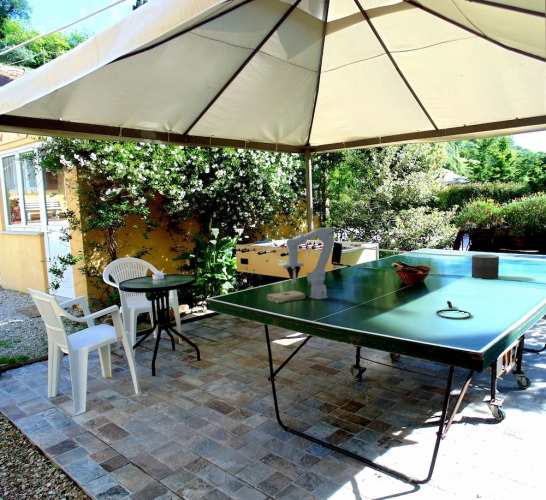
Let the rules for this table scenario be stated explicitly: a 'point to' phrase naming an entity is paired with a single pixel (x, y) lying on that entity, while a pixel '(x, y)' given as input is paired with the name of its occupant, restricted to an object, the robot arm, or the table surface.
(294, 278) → the steel peg
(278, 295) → the hole block
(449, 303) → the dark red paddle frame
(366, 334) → the table surface
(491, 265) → the planter
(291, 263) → the robot arm
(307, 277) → the food container
